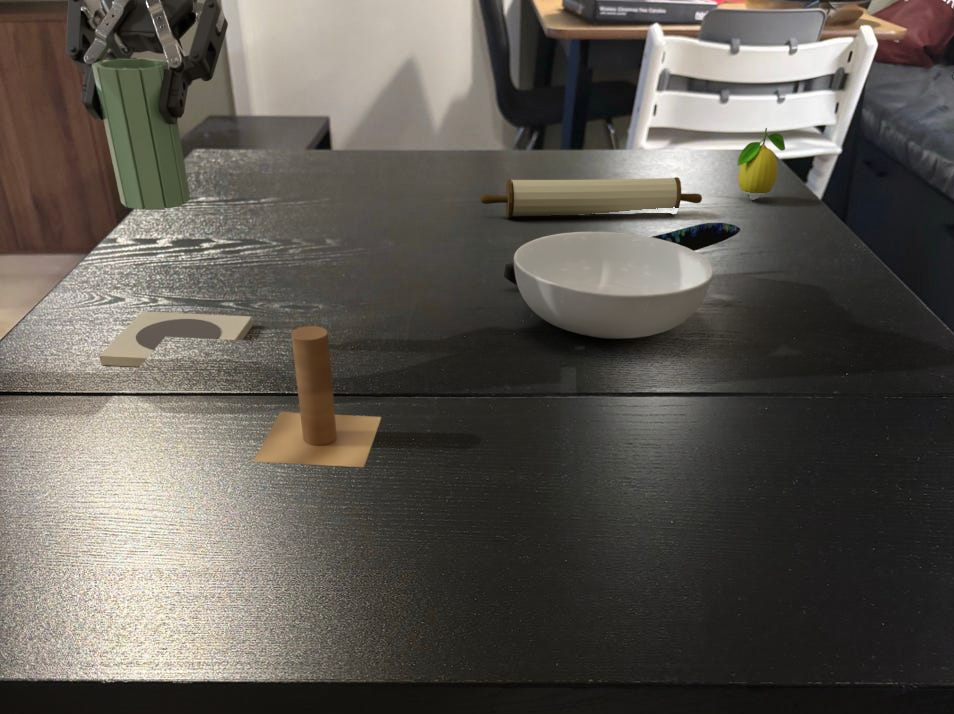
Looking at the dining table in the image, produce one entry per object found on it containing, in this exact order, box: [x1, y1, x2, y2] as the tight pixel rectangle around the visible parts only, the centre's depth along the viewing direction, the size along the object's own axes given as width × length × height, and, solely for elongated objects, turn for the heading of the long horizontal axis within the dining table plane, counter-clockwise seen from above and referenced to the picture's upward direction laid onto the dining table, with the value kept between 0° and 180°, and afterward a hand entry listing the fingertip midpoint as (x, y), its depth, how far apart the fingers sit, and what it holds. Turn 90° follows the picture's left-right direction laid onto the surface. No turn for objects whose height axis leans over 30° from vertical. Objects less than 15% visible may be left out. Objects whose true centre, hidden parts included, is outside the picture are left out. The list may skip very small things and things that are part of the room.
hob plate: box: [98, 311, 254, 368], centre depth 96 cm, size 12×12×1 cm
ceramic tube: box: [92, 57, 191, 211], centre depth 83 cm, size 6×6×11 cm
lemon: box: [736, 127, 786, 194], centre depth 140 cm, size 7×6×10 cm
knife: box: [503, 222, 741, 287], centre depth 112 cm, size 31×3×4 cm, turn 104°
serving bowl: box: [513, 231, 715, 340], centre depth 100 cm, size 21×21×7 cm
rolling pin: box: [480, 176, 703, 219], centre depth 134 cm, size 32×6×5 cm, turn 96°
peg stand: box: [253, 325, 382, 468], centre depth 76 cm, size 9×9×10 cm
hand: (130, 115), depth 81 cm, fingers closed on ceramic tube, 6 cm apart
